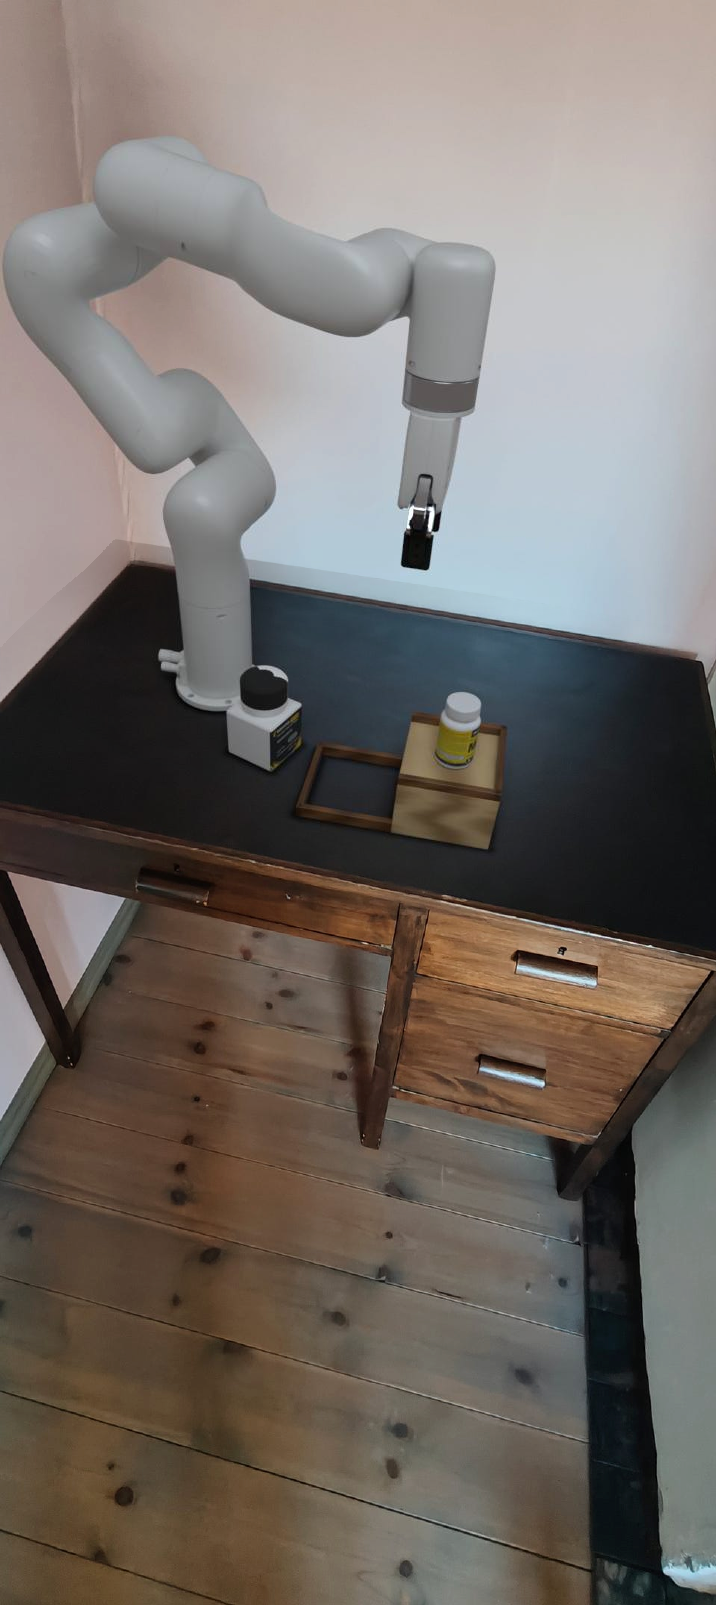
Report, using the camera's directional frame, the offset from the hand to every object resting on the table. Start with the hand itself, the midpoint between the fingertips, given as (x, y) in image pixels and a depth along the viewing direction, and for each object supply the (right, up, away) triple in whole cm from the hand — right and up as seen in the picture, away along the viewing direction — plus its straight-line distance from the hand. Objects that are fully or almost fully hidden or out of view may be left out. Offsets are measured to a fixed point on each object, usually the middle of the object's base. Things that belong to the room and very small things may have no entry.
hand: (420, 547), depth 96 cm
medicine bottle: (-20, -22, +16) cm, 34 cm away
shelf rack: (-2, -29, +11) cm, 31 cm away
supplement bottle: (+4, -24, +5) cm, 25 cm away
